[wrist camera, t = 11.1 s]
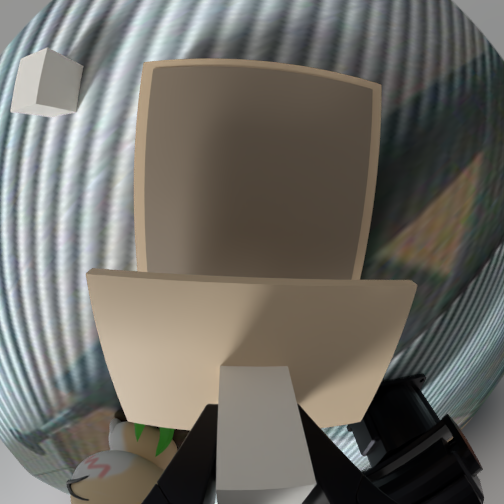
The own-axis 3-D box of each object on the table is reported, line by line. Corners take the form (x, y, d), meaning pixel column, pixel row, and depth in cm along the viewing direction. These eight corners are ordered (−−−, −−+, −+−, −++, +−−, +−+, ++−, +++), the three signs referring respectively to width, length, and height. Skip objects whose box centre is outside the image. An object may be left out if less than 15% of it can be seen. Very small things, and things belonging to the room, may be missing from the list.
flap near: (410, 279, 7) (504, 363, 3) (357, 415, 10) (391, 496, 5) (92, 268, 7) (-5, 366, 3) (129, 414, 9) (105, 503, 5)
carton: (351, 97, 12) (382, 83, 9) (321, 329, 17) (337, 363, 14) (163, 82, 12) (143, 61, 8) (163, 324, 16) (149, 360, 13)
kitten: (94, 362, 17) (20, 526, 3) (218, 402, 19) (216, 586, 5) (99, 444, 21) (70, 547, 7) (183, 470, 23) (175, 577, 9)
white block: (142, 55, 11) (112, 25, 7) (130, 162, 13) (92, 164, 9) (25, 84, 11) (-16, 75, 6) (16, 172, 13) (-27, 181, 8)
